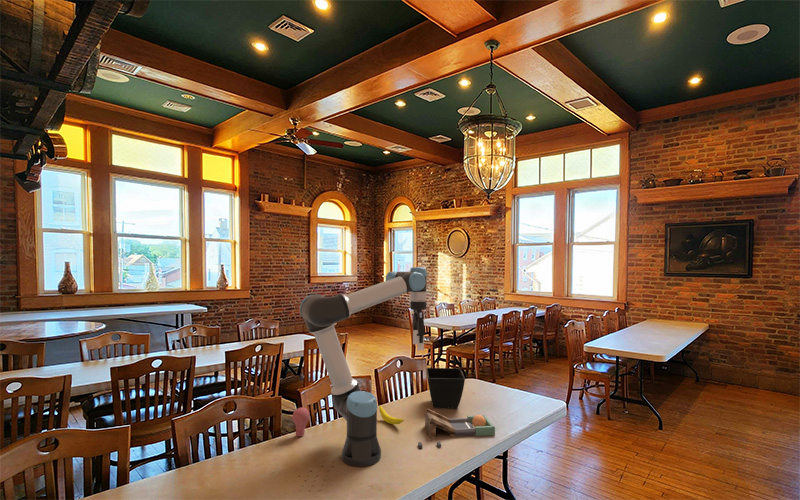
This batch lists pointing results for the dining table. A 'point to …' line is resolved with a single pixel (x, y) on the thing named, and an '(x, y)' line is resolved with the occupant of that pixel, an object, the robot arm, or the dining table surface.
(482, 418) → the ball
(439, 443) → the grey flat pieces
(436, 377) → the flower pot
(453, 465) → the dining table surface
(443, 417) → the ramp
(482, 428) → the green open tray
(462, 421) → the runway
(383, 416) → the banana
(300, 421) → the light bulb
